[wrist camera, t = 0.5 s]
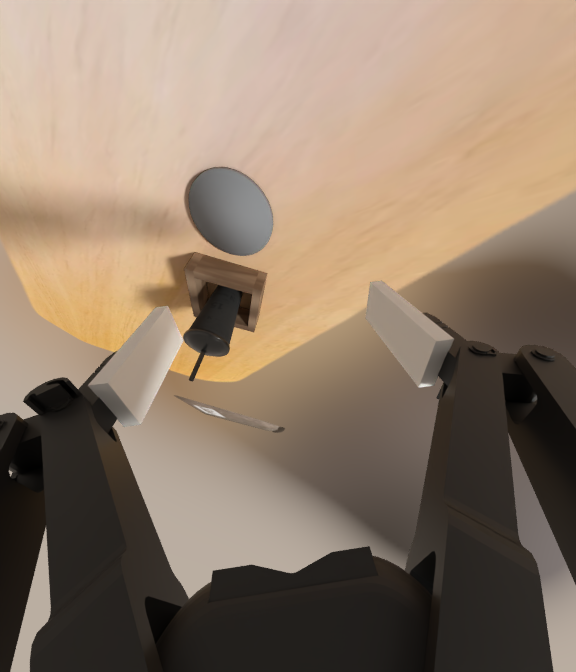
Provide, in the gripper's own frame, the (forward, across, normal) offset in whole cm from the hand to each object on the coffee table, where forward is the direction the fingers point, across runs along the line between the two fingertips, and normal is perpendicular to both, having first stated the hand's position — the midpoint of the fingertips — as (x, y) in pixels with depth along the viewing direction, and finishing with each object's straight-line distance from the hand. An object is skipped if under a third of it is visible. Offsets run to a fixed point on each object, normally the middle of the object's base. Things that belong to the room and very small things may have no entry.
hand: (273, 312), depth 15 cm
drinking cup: (+30, -8, -10) cm, 33 cm away
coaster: (+24, -4, +4) cm, 24 cm away
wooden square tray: (+30, -8, -10) cm, 32 cm away
